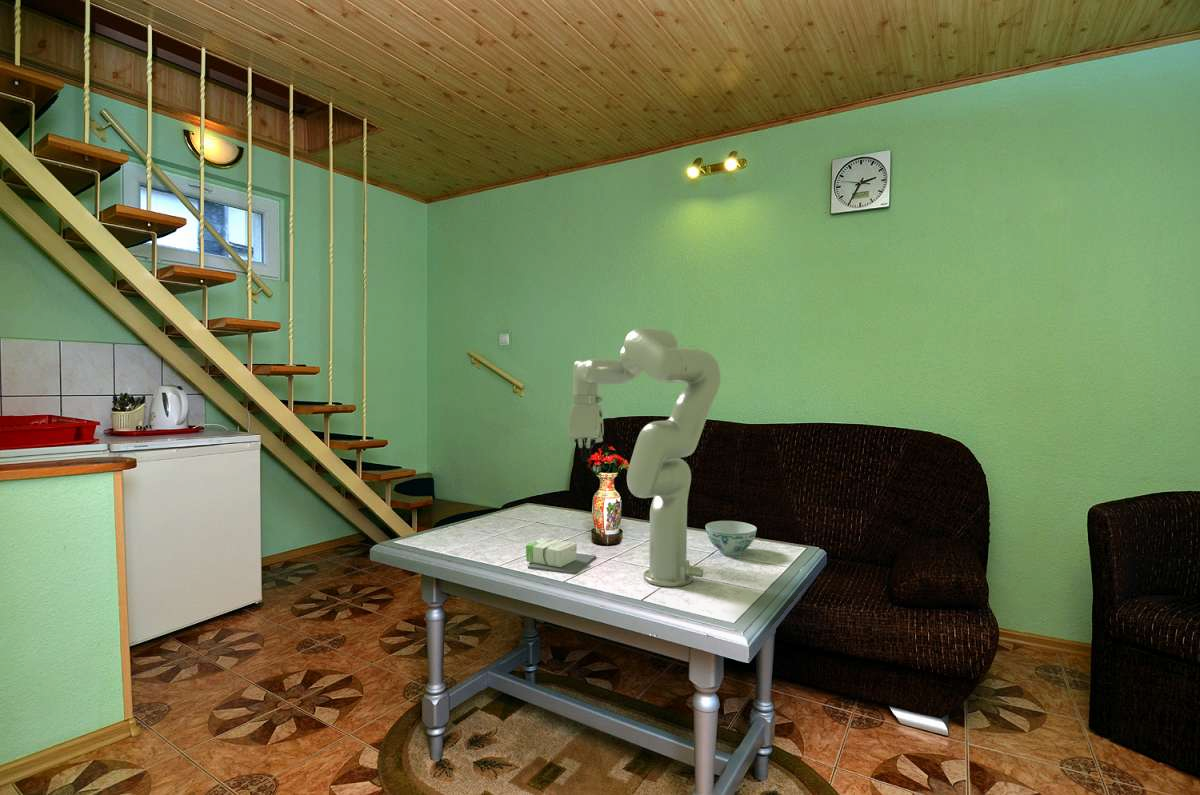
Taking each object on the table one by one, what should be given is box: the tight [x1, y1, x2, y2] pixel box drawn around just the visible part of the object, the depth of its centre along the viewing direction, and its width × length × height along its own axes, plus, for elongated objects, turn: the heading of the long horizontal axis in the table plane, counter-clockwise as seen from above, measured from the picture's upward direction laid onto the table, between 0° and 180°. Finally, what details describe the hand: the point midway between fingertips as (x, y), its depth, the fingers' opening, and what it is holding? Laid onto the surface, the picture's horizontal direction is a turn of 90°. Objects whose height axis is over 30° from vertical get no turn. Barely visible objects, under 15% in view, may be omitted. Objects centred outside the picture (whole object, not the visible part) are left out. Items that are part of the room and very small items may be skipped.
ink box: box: [525, 537, 578, 567], centre depth 165 cm, size 9×5×12 cm
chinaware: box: [705, 520, 758, 557], centre depth 176 cm, size 15×15×8 cm
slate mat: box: [527, 552, 597, 575], centre depth 165 cm, size 14×16×1 cm
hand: (585, 460), depth 179 cm, fingers closed
